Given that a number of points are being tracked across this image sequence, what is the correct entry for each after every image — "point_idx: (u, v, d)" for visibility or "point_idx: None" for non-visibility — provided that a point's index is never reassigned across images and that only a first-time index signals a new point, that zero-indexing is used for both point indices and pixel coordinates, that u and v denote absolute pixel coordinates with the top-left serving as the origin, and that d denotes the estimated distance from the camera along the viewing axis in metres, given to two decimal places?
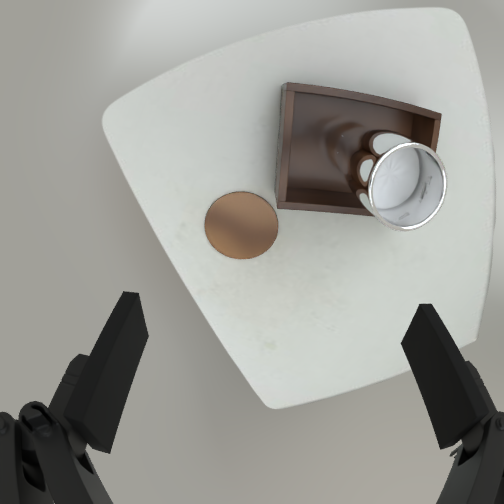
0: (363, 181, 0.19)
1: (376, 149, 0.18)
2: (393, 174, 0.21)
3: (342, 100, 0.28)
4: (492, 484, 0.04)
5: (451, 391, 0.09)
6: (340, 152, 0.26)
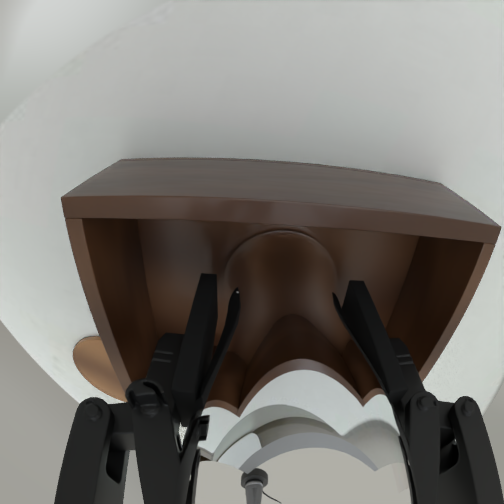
0: None
1: None
2: None
3: None
4: (430, 472, 0.06)
5: None
6: None
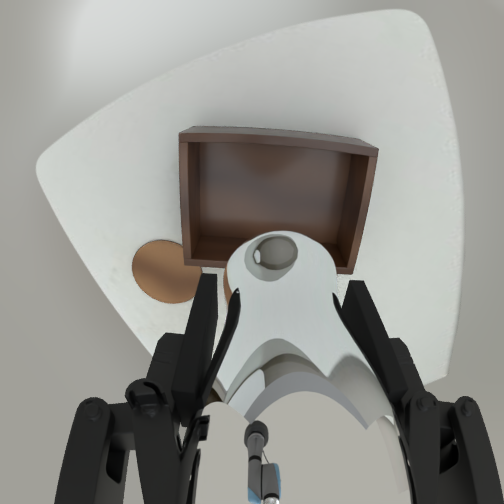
0: None
1: None
2: None
3: None
4: (429, 472, 0.06)
5: None
6: None
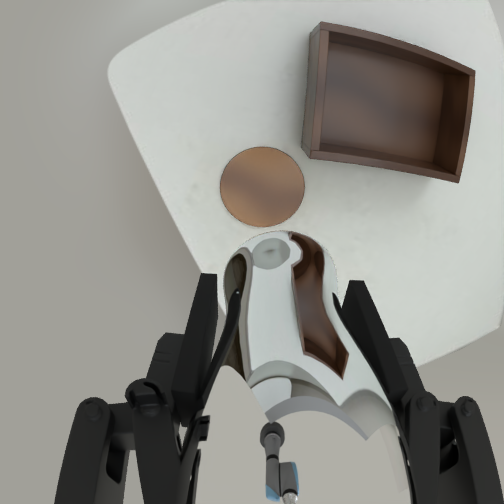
0: None
1: None
2: None
3: (373, 53, 0.23)
4: (430, 472, 0.06)
5: None
6: None
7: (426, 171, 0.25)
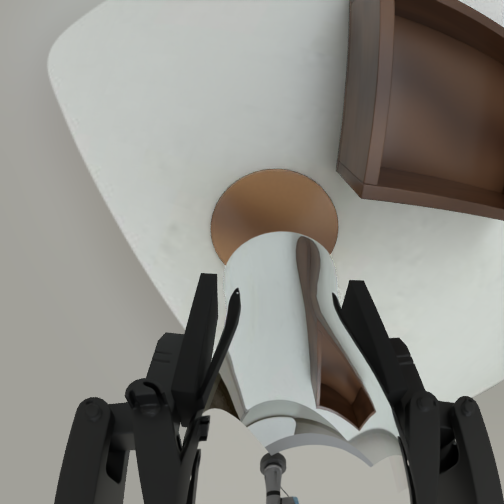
0: None
1: None
2: None
3: (439, 34, 0.13)
4: (429, 472, 0.06)
5: None
6: None
7: None
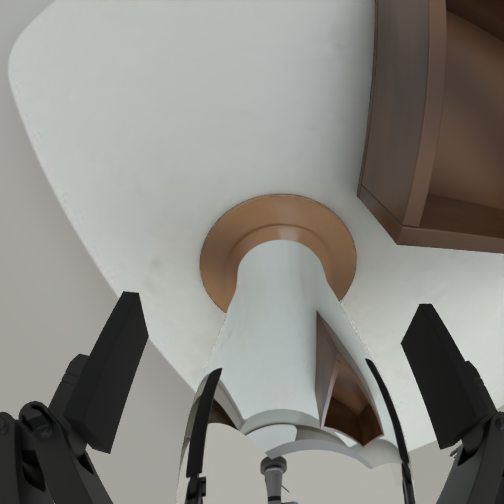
0: None
1: None
2: None
3: (479, 30, 0.09)
4: (492, 484, 0.04)
5: (451, 391, 0.09)
6: None
7: None
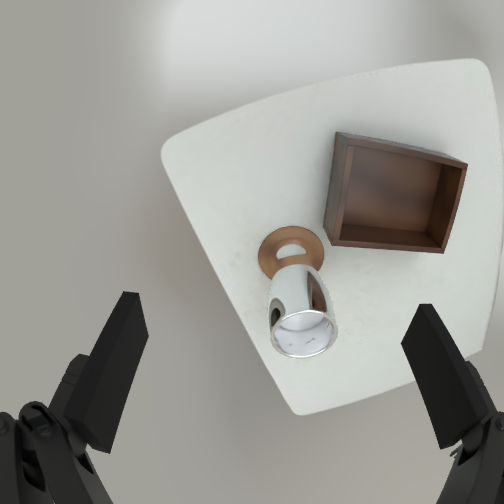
0: None
1: (279, 309, 0.28)
2: None
3: None
4: (492, 484, 0.04)
5: (451, 391, 0.09)
6: None
7: (417, 248, 0.34)
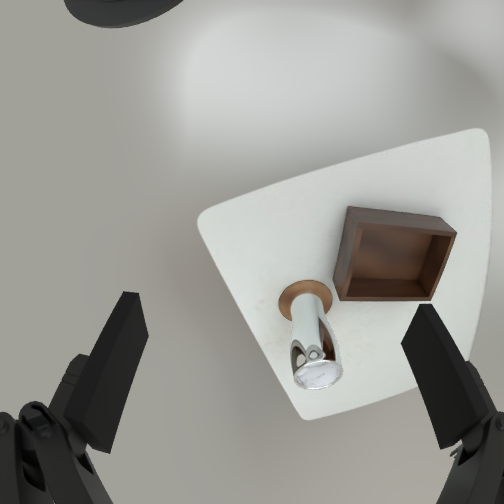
0: None
1: (301, 358, 0.36)
2: None
3: None
4: (492, 484, 0.04)
5: (451, 391, 0.09)
6: (292, 326, 0.44)
7: (409, 299, 0.42)
